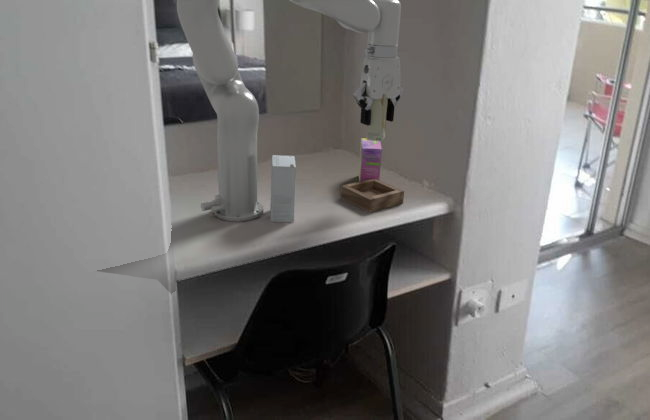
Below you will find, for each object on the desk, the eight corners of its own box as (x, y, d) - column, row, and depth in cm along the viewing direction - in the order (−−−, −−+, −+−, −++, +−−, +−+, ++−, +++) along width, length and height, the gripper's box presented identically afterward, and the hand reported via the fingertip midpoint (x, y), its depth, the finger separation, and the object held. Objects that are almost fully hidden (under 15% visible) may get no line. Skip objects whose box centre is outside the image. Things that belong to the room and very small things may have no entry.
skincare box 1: (270, 209, 154) (270, 154, 148) (293, 209, 155) (294, 154, 149) (270, 223, 146) (270, 165, 141) (295, 223, 147) (296, 165, 141)
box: (379, 188, 172) (382, 148, 167) (359, 187, 172) (361, 147, 167) (377, 176, 181) (380, 138, 177) (358, 175, 181) (360, 137, 177)
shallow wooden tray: (369, 212, 155) (370, 199, 154) (340, 197, 164) (341, 185, 162) (403, 203, 162) (404, 191, 161) (373, 189, 171) (374, 178, 169)
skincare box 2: (382, 142, 153) (386, 94, 148) (365, 140, 154) (369, 93, 149) (385, 135, 159) (389, 89, 154) (369, 134, 159) (372, 88, 155)
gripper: (365, 56, 140) (360, 130, 147) (418, 52, 150) (411, 121, 157) (345, 51, 145) (341, 123, 152) (397, 48, 155) (391, 115, 162)
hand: (376, 121), depth 154 cm, fingers closed on skincare box 2, 7 cm apart
